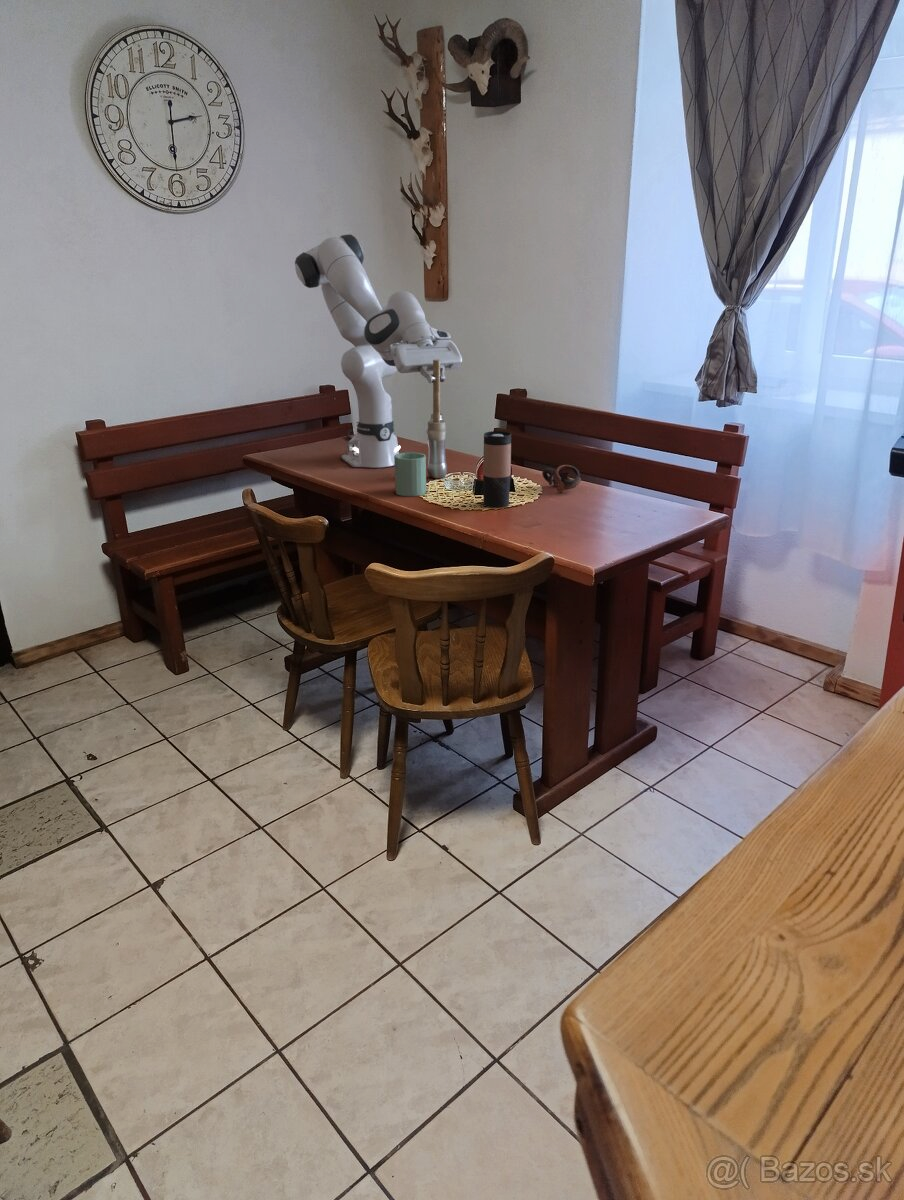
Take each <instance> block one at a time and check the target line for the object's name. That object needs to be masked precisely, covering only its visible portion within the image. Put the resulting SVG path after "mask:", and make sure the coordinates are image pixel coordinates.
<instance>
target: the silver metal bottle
mask: <svg viewBox="0 0 904 1200" xmlns="http://www.w3.org/2000/svg"><path fill="white" fill-rule="evenodd" d="M431 420H433V413H430V419H429V421H431ZM440 420H442V421H444V420H443V414H442V413H441V412H440ZM447 433H448V431H447V428H446V427H445V440H442V441H432V440H428V427H427V428H426V438H427V445H428V459H427V460H428V462H427V465H426V473H427V475H428V477H430V478H432V479H441V478H445V477H446V476H447V474H448V464H447V458H446V443H447V435H448V434H447Z"/></svg>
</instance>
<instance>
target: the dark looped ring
mask: <svg viewBox="0 0 904 1200" xmlns="http://www.w3.org/2000/svg"><path fill="white" fill-rule="evenodd" d="M572 472H574V473H575V475H576V477H575V478H573V479H572V478H570V477H568V476H569V474H571V473H572ZM541 474H542V477H543V479H544V480H545V481H546V482H547V483H548V485H549V486H552V485H553V487H556V486H557V488H556V491H557V492H558V493H560V494H562V493H563V492H564V491H567V490H570V489H573V488H576V487H577V486H578V485H579V484H580V483H581V482H582V479H581V477H580V476H581V473H580V470H579V469H578V468H576V467H575V466H573V465H570V464H562V465H559V466H558V467H556V469H553V468H551V467H546V468H544V469H543V471H542V472H541Z"/></svg>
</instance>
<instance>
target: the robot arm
mask: <svg viewBox="0 0 904 1200" xmlns="http://www.w3.org/2000/svg"><path fill="white" fill-rule="evenodd" d="M364 258H365V257H364V251H363V247H362V245H361V243H360V242H359V240H358V239H357V237H356V236H354V235H353V234H351V233H350V234H341V235H340V237H339V236H338V237H336V236H331V237H327V238H326V239H324V240H323V241H321V243H320V244H318V245H316V246H314V247H312V248H310V249H308V250H307V251H303V252H302V253H300V254H299V255H298V256H296V257H295V260H294V269H295V274H296V276H297V279H298V280H299V281H300V283H301V284H302V285H303V286H304V287H306V288H308V289H312V288H313V289H315V288H318V287H319V286H321V287H320V288H321V292H322V293H321V294H322V296H323V299H324V302H325V304H326V307H327V309H328V311H329V313H330V316H331V318H332V320H333V322H334V324H335V326H336V328H337V330H338V332H339V334H340V336H341V337H342V338H343V339H344V340H346V341H347V342H350V343H351V344H352V345H353V346H354V347H352V348H349V349H348V350H346V351H345V352H343V354H342V356H341V360H340V367H341V371H342V373H343V375H344V376H345V377H346V379H349V381H350V382H351V384H352V386H353V388H354V391H355V395H356V398H357V408H358V421H357V422H356V433H355V434H354V435H353V436H352V437H350V434H352V433H353V432H352V429H348V431H347V433H346V438H347V439H348V440H349V441H348V442H347V443H348V444H347V445H346V450H347V453H346V454H345V453H344V454H343V455H341V459H342V460H343V461H344V462H346V463H347V464H348V465H350V466H351V467H353V468H372V469H373V468H374V469H375V468H387V467H392V466H395V465H394V456H395V455H396V454H399V453H400V452H399V450H400V449H401V445H399V444H398V437H397V436H396V435H395V434H394V432H395V424H394V420H393V404H392V403H393V401H392V400H393V399H392V397H391V395H390V393H388V392H387V391H386V390H385V387H384V385H383V382H382V379H383V378H386V377H387V378H388V377H391V376H393V375H395V374H397V373H398V372H399V373H400V374H409V373H411V374H413V373H420V375H421V376H423V377H424V378H425V379H426V380H427V383H428V384H433V383H434V381H435V377H434V374H433V373H432V374H431V373H430V372H433V360H436V359H437V360H440V383H445V381H446V380H447V378H446V377H447V376H446V374H445V372H446V371H450V370H458V369H459V368H460V366H461V364H462V362H463V356H462V354H461V352H460V349H459V348H458V347H457V345H456V343H455V342H453V341H452V340H451V339H452V336H451V334H450V332H448V331H445V330H440V329H437V328H435V327H432V326H431V325H430V324H429V322H428V321H427V320H426V314H425V312H424V310H423V308H422V306H421V304H420V302H419V301H418V298H417V297H416V296H415V295H414V294H413V293H411V292H409V291H405V290H401V291H397V292H394V293H393V294H391V295H390V296H389V297H388V299H387V301H386V304H385V305H384V307H382V305H381V304H380V302H379V299H378V297H377V295H376V293H375V289H374V288H373V285H372V284H371V280H370V279H369V276H368V274H367V272H366V269H365V268H364V265H363V263H364Z"/></svg>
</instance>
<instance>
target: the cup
mask: <svg viewBox="0 0 904 1200" xmlns="http://www.w3.org/2000/svg"><path fill="white" fill-rule="evenodd" d="M398 453H399V454H396V455H395V456H394V465H393V466H394V487H395V488H394V489H395V491H394V492H395V494H396V495H398V496H402V497H418V496H424V495H425V494H427V455H426V454H425V453H422V452H415V451H414V452H413V451H410V452H409V451H408V452H398Z"/></svg>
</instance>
